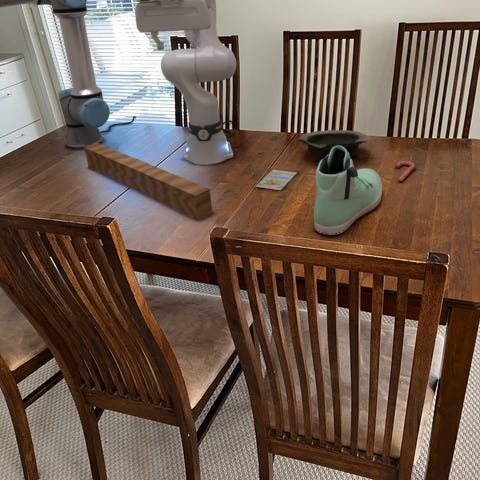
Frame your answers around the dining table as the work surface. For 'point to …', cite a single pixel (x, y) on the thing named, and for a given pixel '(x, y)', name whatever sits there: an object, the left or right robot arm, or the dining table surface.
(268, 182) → the baking ingredient package
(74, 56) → the left robot arm
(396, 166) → the candy cane
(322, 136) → the stone bowl
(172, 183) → the beam
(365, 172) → the sneaker
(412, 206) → the dining table surface
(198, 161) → the right robot arm
